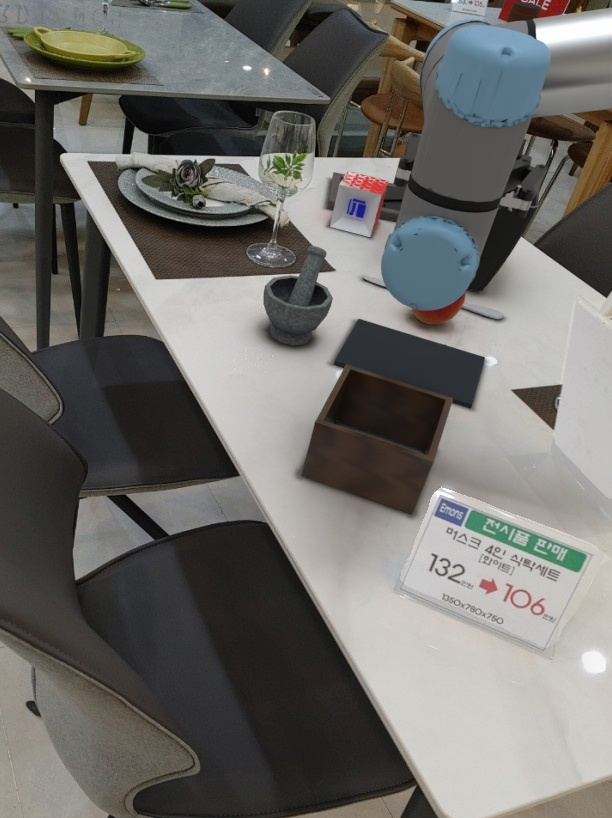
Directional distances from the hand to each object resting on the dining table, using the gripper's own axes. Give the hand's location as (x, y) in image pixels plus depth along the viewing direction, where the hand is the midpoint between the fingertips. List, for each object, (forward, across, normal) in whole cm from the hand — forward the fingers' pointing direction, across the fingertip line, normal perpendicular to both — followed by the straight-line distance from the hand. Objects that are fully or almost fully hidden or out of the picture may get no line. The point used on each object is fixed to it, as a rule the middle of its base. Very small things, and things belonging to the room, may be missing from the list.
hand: (482, 142), depth 88 cm
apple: (+18, 0, -32) cm, 37 cm away
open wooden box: (-22, 0, -32) cm, 39 cm away
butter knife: (+26, -1, -32) cm, 41 cm away
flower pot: (+39, 0, -32) cm, 51 cm away
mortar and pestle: (+2, -18, -32) cm, 37 cm away
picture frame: (+61, -17, -32) cm, 71 cm away
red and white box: (+47, -20, -32) cm, 60 cm away
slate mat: (+4, 0, -32) cm, 32 cm away
